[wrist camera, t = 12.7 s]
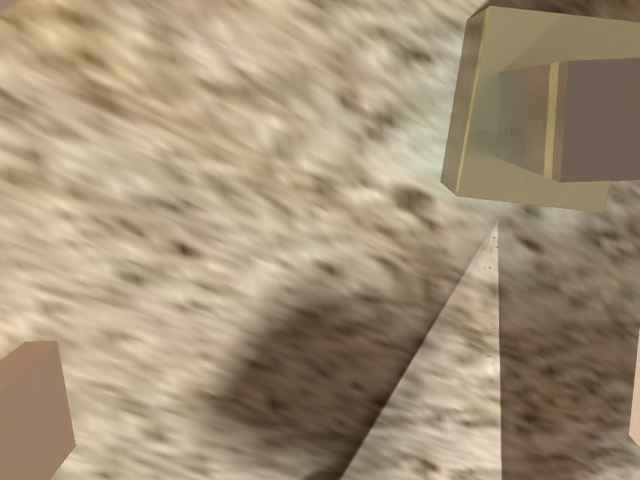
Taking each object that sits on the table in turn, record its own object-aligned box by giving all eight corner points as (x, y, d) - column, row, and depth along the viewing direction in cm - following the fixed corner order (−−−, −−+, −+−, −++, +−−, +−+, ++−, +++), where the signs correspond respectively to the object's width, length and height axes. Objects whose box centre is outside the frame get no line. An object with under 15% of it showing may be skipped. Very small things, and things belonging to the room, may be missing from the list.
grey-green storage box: (570, 196, 40) (609, 213, 34) (440, 182, 40) (457, 196, 34) (606, 35, 37) (656, 24, 31) (467, 20, 37) (490, 5, 31)
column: (496, 158, 34) (559, 183, 24) (500, 71, 32) (568, 60, 23) (581, 155, 33) (680, 179, 24) (588, 68, 32) (695, 55, 22)
